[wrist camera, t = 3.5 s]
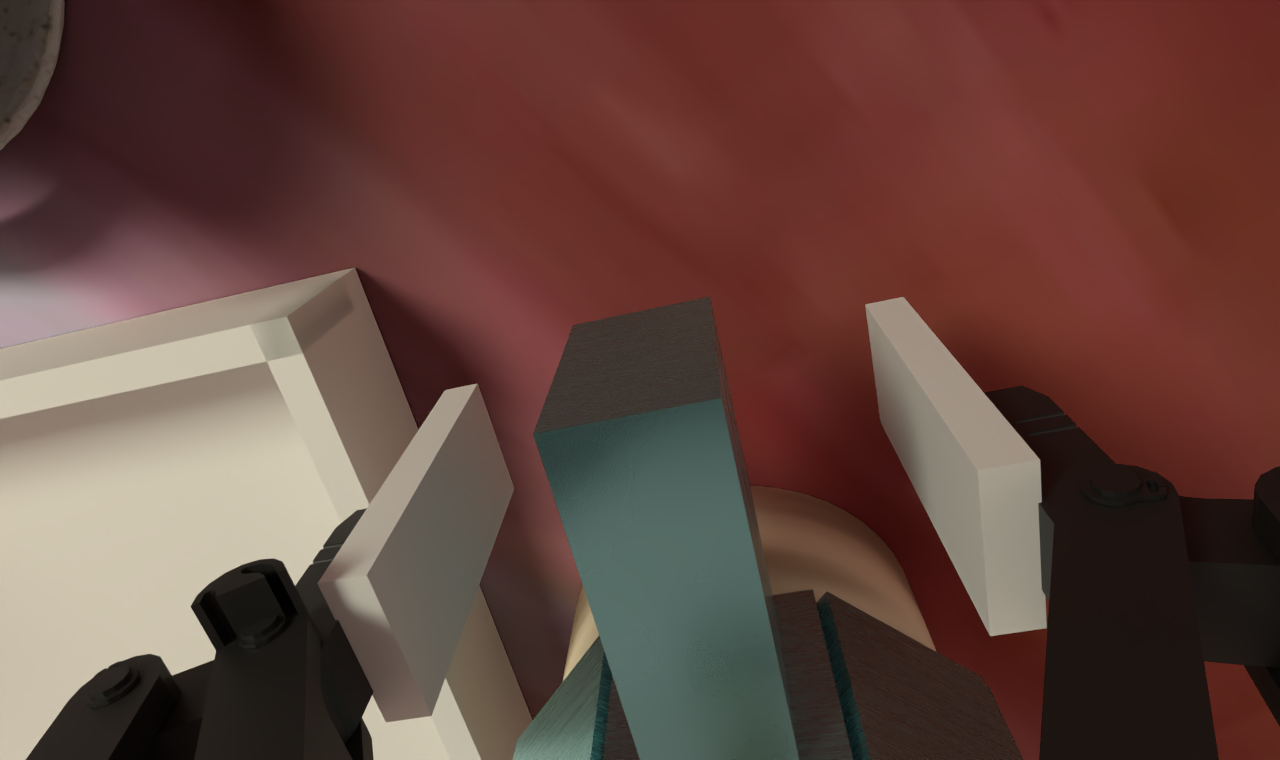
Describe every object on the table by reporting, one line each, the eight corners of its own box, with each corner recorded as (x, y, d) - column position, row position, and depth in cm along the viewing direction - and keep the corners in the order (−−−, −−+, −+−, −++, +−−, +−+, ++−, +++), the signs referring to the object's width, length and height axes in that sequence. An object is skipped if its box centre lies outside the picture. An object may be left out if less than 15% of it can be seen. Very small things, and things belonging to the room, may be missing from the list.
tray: (-352, 430, 21) (-535, 499, 18) (354, 267, 18) (286, 316, 15) (76, 945, 30) (5, 1052, 27) (598, 889, 27) (588, 1002, 24)
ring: (1005, 904, 19) (1082, 1110, 15) (595, 943, 21) (577, 1141, 17) (953, 244, 13) (1064, 332, 9) (359, 369, 14) (246, 489, 10)
